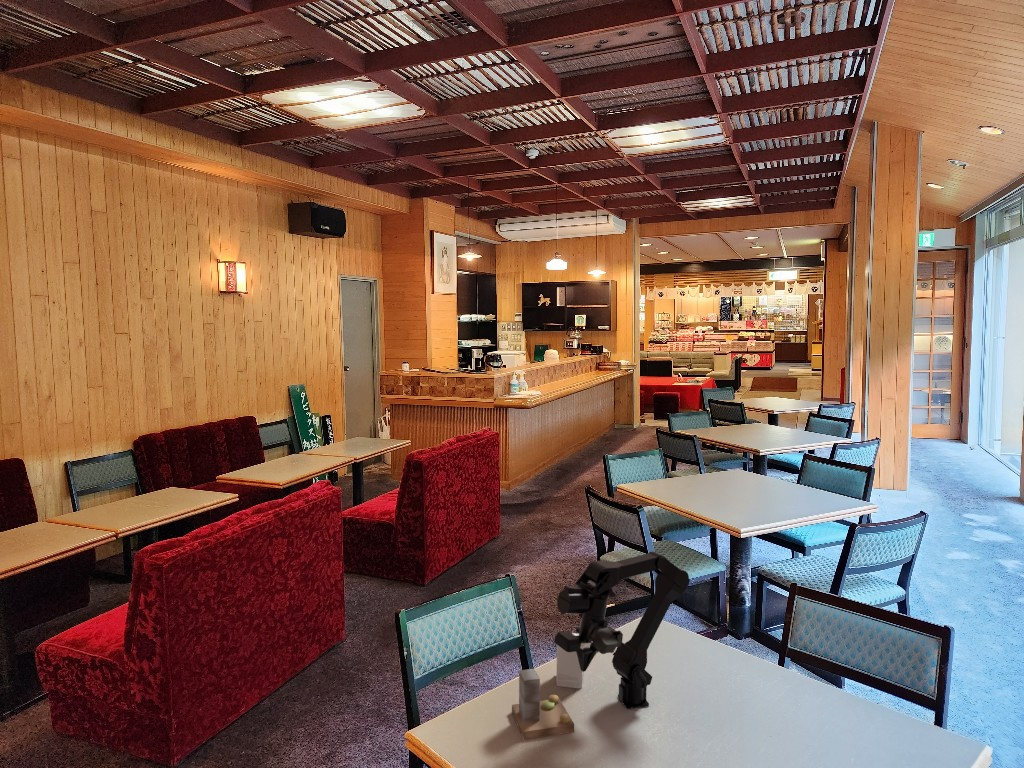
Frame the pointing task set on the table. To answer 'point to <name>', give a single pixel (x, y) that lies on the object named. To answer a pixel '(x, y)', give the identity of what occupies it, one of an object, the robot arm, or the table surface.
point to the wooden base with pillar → (539, 710)
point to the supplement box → (568, 669)
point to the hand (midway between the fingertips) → (583, 670)
